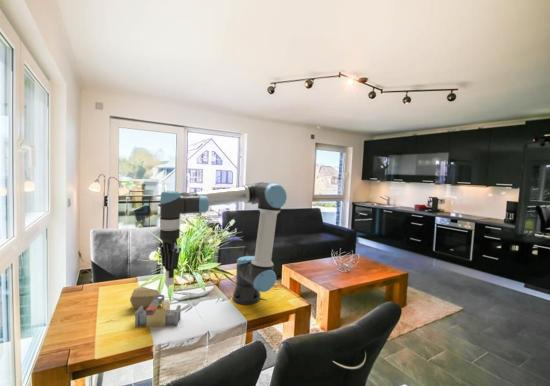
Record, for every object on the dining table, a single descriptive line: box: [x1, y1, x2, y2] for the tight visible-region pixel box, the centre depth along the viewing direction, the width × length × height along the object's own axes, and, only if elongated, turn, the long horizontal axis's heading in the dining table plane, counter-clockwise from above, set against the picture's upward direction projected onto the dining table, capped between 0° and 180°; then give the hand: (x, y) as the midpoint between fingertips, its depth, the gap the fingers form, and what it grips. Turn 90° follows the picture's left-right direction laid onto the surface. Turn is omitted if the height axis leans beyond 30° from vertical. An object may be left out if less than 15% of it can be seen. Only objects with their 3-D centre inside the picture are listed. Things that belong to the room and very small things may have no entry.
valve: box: [134, 301, 182, 328], centre depth 126 cm, size 18×7×10 cm, turn 96°
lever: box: [145, 294, 165, 316], centre depth 120 cm, size 14×5×2 cm, turn 6°
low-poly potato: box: [129, 286, 161, 310], centre depth 139 cm, size 15×11×12 cm
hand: (169, 284), depth 115 cm, fingers closed
